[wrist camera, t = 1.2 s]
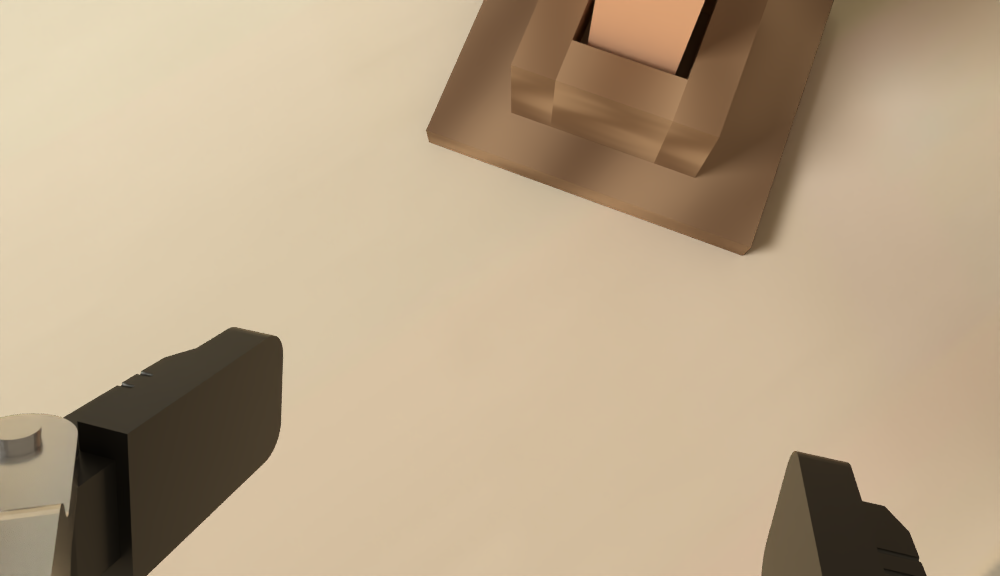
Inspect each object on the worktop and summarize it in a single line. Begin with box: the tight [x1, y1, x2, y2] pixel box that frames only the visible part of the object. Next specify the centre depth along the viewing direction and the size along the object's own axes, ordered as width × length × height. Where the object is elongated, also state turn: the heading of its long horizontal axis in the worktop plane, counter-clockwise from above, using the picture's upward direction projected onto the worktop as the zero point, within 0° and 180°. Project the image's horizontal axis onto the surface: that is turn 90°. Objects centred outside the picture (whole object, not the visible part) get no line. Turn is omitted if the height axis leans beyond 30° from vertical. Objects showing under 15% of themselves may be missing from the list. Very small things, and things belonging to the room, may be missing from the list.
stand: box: [426, 0, 834, 256], centre depth 33 cm, size 14×12×5 cm
